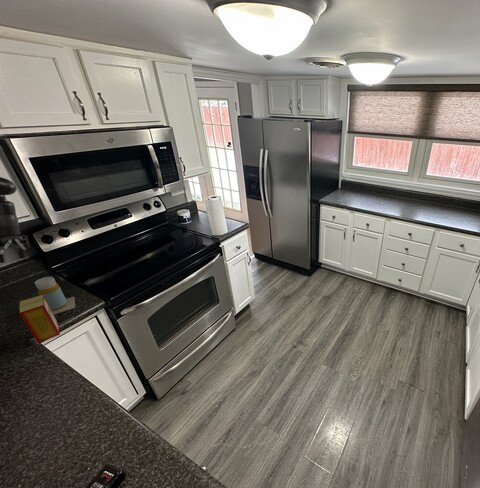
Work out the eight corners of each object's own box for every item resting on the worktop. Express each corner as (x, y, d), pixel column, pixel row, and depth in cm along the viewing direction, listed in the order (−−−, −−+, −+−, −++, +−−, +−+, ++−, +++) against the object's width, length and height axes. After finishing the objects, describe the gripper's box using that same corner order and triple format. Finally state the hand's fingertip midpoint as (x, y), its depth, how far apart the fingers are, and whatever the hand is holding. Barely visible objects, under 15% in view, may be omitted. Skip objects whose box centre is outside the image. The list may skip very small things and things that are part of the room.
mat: (40, 319, 118) (39, 318, 118) (40, 307, 125) (40, 306, 125) (75, 307, 125) (75, 307, 125) (74, 297, 133) (74, 296, 132)
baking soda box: (60, 334, 110) (43, 304, 103) (38, 343, 106) (19, 312, 99) (58, 322, 116) (42, 293, 109) (37, 330, 112) (19, 300, 105)
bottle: (70, 304, 127) (58, 278, 120) (52, 313, 121) (38, 286, 114) (62, 300, 129) (49, 274, 123) (44, 308, 124) (29, 282, 117)
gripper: (14, 223, 123) (20, 256, 126) (-24, 226, 109) (-16, 264, 112) (31, 223, 123) (37, 257, 126) (-5, 226, 109) (2, 264, 112)
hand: (12, 260), depth 119 cm, fingers open, 8 cm apart
